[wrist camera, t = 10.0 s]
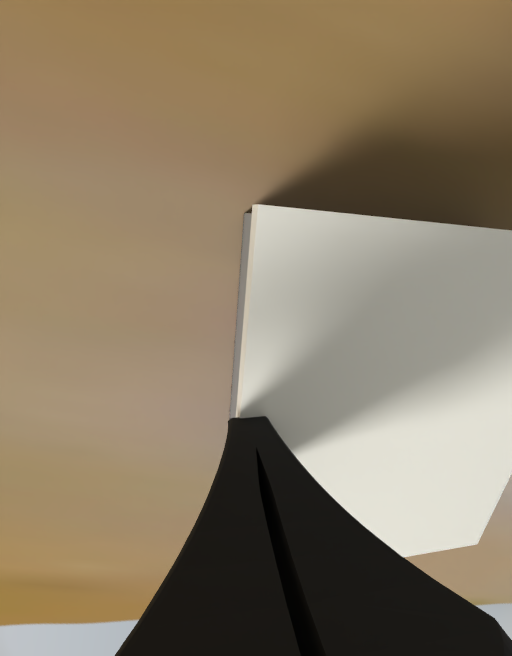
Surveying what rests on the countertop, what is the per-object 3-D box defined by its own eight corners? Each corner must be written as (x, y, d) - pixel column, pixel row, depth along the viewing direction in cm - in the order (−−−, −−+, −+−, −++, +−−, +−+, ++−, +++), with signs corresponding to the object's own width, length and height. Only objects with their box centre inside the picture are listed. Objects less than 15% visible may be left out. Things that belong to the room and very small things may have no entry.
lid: (598, 240, 11) (624, 242, 10) (465, 530, 16) (477, 544, 15) (252, 204, 8) (258, 204, 7) (223, 569, 13) (225, 588, 12)
